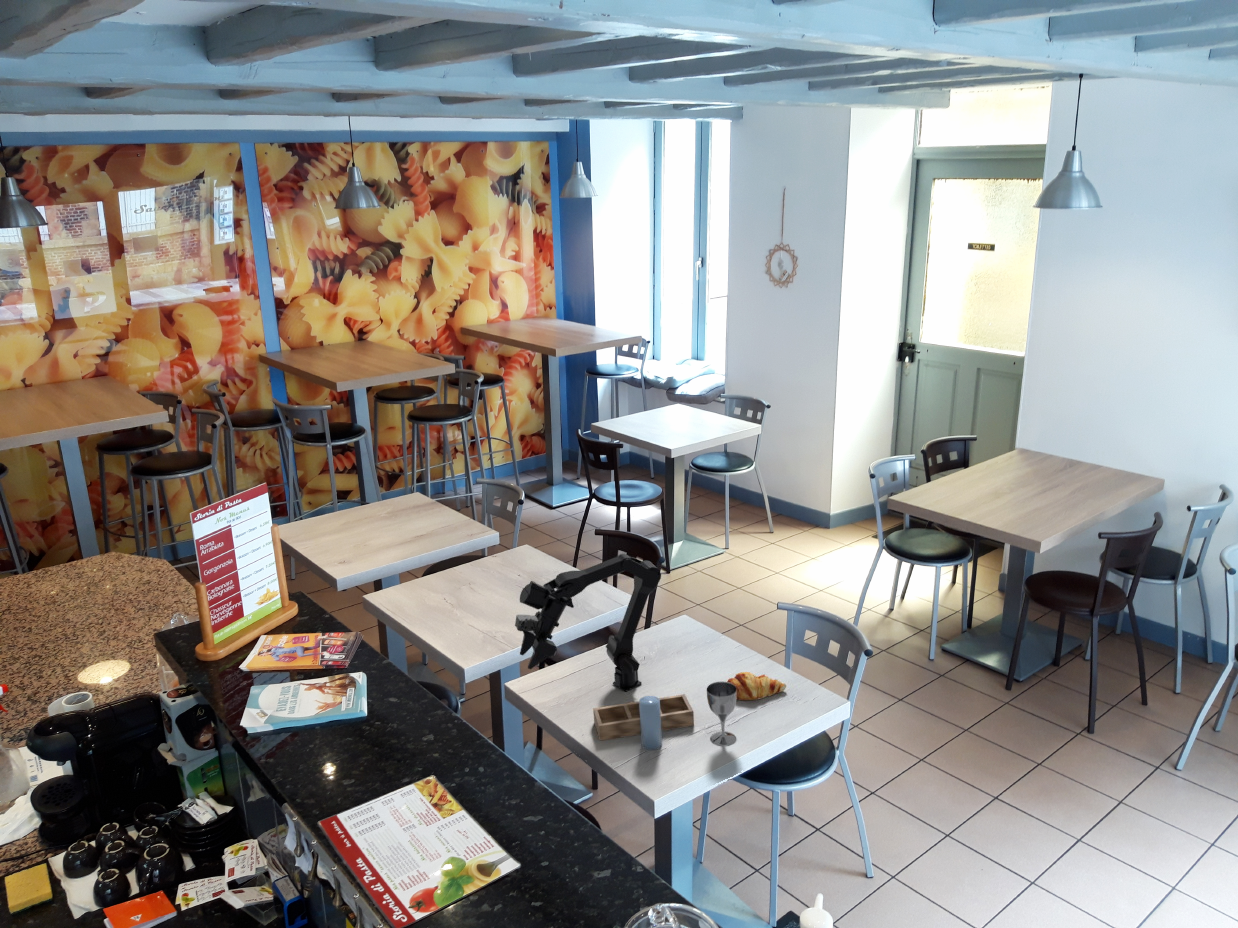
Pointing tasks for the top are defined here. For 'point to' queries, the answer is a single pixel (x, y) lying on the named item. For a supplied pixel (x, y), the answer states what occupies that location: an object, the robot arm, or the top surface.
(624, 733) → the rack
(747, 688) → the croissant
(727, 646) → the top surface
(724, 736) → the wine glass
